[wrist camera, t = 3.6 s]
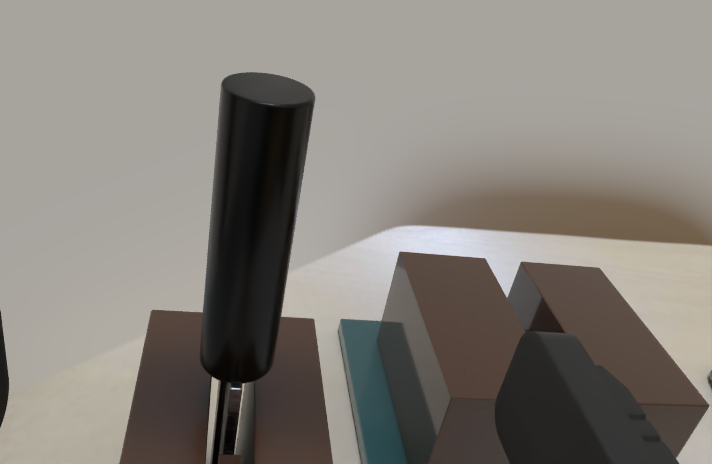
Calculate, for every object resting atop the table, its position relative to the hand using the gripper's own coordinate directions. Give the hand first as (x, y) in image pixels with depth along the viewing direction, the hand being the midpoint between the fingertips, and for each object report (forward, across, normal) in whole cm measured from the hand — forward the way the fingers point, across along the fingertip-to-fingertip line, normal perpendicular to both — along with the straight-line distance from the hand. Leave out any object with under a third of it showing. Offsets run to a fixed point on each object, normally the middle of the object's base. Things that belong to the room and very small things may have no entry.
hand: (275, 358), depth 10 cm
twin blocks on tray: (+18, -17, +21) cm, 32 cm away
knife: (+10, 0, +21) cm, 23 cm away
